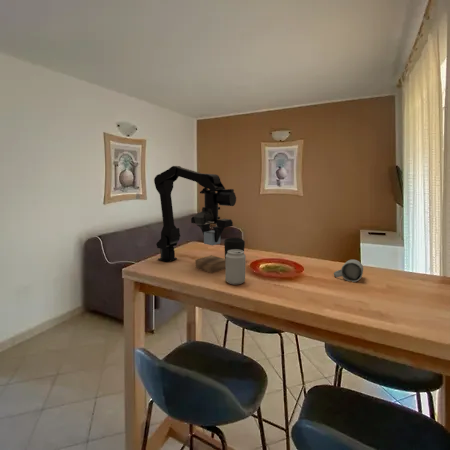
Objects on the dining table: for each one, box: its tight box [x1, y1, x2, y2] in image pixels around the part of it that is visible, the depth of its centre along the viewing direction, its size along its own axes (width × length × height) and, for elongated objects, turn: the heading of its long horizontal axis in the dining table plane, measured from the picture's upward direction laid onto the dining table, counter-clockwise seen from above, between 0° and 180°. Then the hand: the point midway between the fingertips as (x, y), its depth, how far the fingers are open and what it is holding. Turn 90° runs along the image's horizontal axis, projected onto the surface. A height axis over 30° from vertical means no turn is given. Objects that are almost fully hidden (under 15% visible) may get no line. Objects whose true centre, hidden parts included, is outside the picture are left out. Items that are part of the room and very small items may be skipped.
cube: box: [203, 229, 222, 246], centre depth 130 cm, size 5×5×5 cm
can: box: [224, 249, 247, 286], centre depth 114 cm, size 8×8×12 cm
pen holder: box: [223, 237, 246, 259], centre depth 142 cm, size 9×9×10 cm
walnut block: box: [194, 254, 226, 274], centre depth 131 cm, size 10×10×4 cm
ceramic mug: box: [333, 259, 364, 283], centre depth 120 cm, size 11×8×8 cm
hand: (211, 241), depth 129 cm, fingers closed on cube, 5 cm apart
